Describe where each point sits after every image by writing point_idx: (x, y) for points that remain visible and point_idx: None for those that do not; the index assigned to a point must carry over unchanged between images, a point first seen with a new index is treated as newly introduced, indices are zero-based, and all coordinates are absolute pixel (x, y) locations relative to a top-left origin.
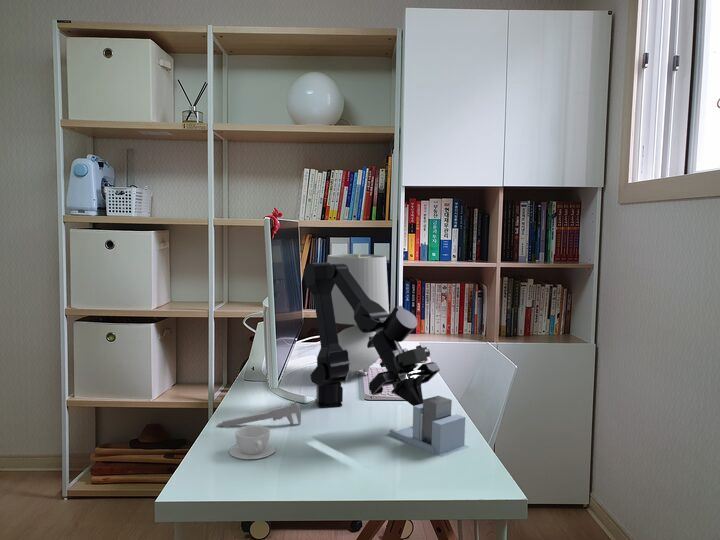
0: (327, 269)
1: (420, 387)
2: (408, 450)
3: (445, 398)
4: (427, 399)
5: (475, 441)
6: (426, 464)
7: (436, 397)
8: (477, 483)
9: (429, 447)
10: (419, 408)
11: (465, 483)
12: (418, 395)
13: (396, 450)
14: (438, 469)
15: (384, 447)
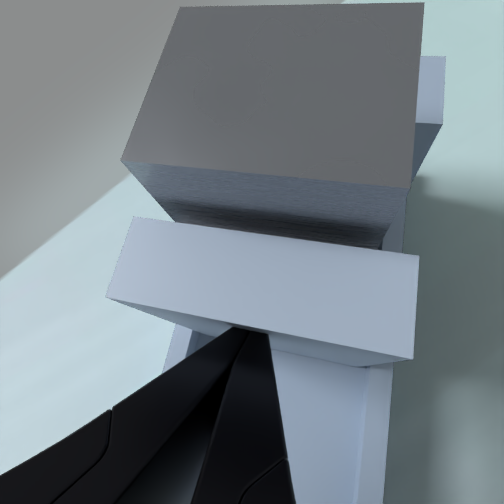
0: None
1: (2, 491)
2: None
3: (173, 60)
4: (356, 153)
5: (126, 195)
6: (474, 199)
7: (202, 132)
8: (450, 18)
9: (403, 220)
10: (416, 260)
11: (484, 36)
12: (183, 429)
13: (467, 401)
14: (471, 144)
15: (494, 491)
